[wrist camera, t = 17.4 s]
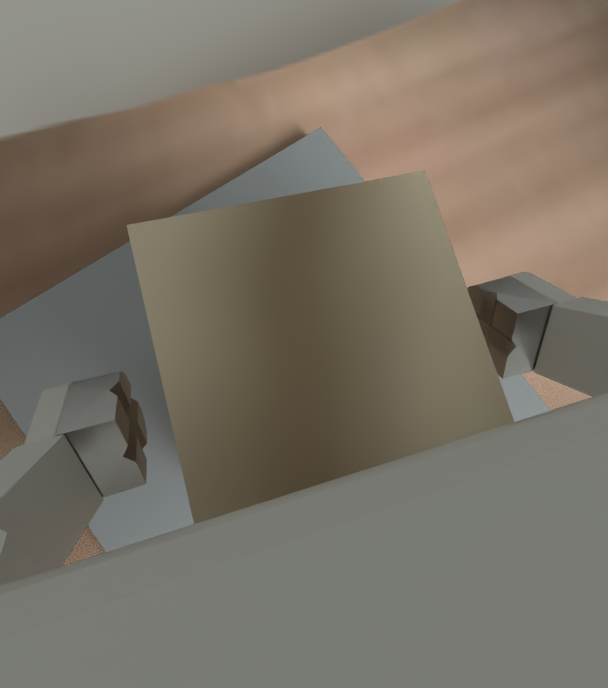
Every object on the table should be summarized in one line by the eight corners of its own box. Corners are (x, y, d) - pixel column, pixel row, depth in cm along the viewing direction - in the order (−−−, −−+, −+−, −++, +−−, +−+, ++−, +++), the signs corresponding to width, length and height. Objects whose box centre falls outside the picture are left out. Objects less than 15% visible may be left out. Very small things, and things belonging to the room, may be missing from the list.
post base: (317, 142, 19) (350, 10, 13) (546, 426, 18) (699, 424, 12) (-22, 347, 15) (-191, 294, 9) (238, 722, 14) (236, 935, 8)
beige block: (340, 290, 17) (424, 170, 9) (387, 444, 16) (527, 457, 8) (184, 327, 16) (126, 225, 8) (224, 495, 15) (204, 568, 7)
